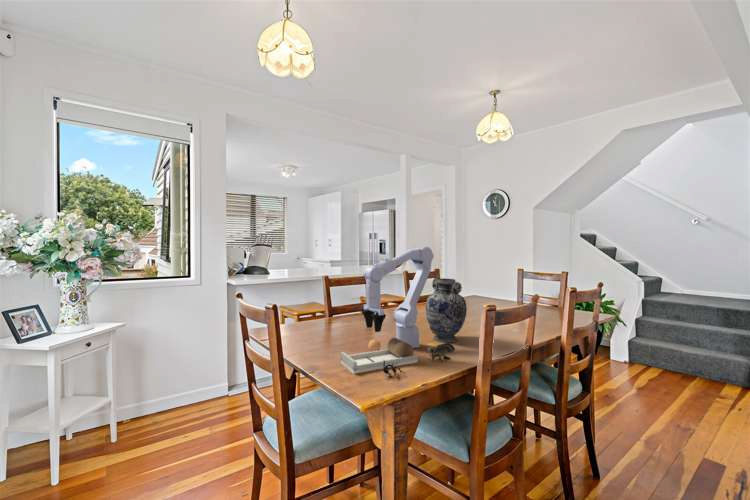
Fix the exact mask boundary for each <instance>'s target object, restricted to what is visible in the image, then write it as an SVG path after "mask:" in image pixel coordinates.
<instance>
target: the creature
mask: <svg viewBox="0 0 750 500" xmlns="http://www.w3.org/2000/svg"><path fill="white" fill-rule="evenodd" d="M397 363H398V362H397ZM397 363H396V364H397ZM393 364H394V363H393ZM393 364H392V365H390V364H389V365H387V366H385V361H384V365H383V369H382V370H383V373H385V374H386V375H387V376H389V378H390V379H391V378H396V379H398V380H401V378H399V377H397V375H396V374H397V372H398V370H399V373H403V374H404V375H406V374H405V371H404V370H401V369H400V368H399V367H397V366H394V367H393ZM384 366H385V367H384ZM388 366H391V367H390V368H391V369H392V372H393V375H394V376H391V374H392V373H390V371H389V368H388ZM396 367H397V368H396Z"/></svg>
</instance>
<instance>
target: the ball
mask: <svg viewBox="0 0 750 500" xmlns="http://www.w3.org/2000/svg"><path fill="white" fill-rule="evenodd" d="M381 346H382V345H381V342H380V341H379V340H377V339H372V340H370V341H369V342H368V345H367V347H368V349H369V352H372V351H379V350H381Z"/></svg>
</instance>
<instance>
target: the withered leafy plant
mask: <svg viewBox="0 0 750 500" xmlns="http://www.w3.org/2000/svg"><path fill="white" fill-rule="evenodd" d="M455 350H456V349H455V346H454V345H453V344H451V343H446V342H444V343H442V344H438V345H437V346H436V347H435V348H433V347H432V346H430V347H429V346H428V347H427V351H428V352H429V355H428V356H429V357H431V362H434V361H435V358H439V359H440V360H441V361H442V362H445V358H448V359H450V357H449V356H447V354H448V353H450V354H451V353H454V351H455ZM444 357H445V358H444Z"/></svg>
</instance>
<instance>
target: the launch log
mask: <svg viewBox="0 0 750 500" xmlns="http://www.w3.org/2000/svg"><path fill="white" fill-rule="evenodd" d="M386 347H387V348H386V349H388V351H389V352H391V353H392V354H394V355H396V356H398V357H399V358H401V357H406V356H412V355H414V351H415V350H414V348H413V347H412V346H411V345H410V344H408V343H406V342H404V341H401V340H399V339H397V338H396V337H392V338H391V339H389V340H388V342H387V346H386Z"/></svg>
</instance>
